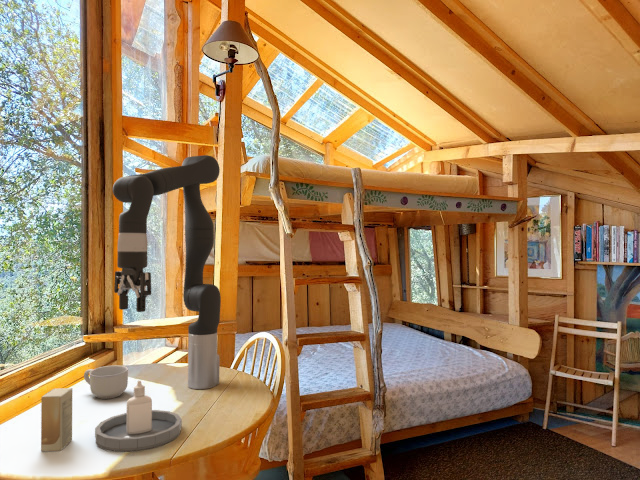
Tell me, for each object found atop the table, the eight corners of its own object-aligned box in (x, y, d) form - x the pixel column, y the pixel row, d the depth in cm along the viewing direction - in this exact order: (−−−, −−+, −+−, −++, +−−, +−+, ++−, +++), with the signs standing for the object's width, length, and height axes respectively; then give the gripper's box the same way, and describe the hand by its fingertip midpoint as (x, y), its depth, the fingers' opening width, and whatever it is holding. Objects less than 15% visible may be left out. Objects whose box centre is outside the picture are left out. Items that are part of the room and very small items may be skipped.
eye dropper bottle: (147, 434, 112) (147, 383, 112) (123, 435, 112) (123, 383, 112) (154, 428, 116) (154, 378, 117) (131, 428, 116) (131, 378, 117)
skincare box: (53, 440, 111) (54, 387, 111) (72, 440, 111) (73, 387, 111) (39, 452, 104) (40, 396, 105) (60, 451, 105) (60, 395, 105)
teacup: (135, 393, 147) (135, 367, 148) (106, 403, 138) (107, 375, 138) (103, 387, 153) (103, 362, 153) (73, 397, 143) (73, 370, 144)
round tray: (152, 415, 127) (152, 405, 127) (196, 432, 116) (196, 421, 116) (80, 437, 112) (80, 425, 112) (123, 459, 101) (123, 446, 101)
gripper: (160, 250, 127) (159, 311, 126) (131, 250, 136) (130, 307, 135) (134, 250, 121) (133, 314, 121) (105, 250, 130) (104, 309, 129)
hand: (132, 310), depth 128 cm, fingers open, 8 cm apart
